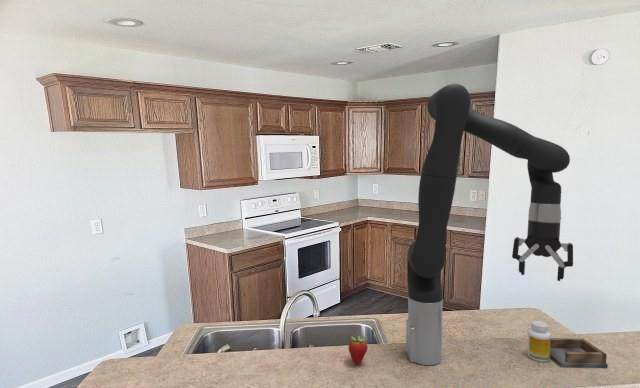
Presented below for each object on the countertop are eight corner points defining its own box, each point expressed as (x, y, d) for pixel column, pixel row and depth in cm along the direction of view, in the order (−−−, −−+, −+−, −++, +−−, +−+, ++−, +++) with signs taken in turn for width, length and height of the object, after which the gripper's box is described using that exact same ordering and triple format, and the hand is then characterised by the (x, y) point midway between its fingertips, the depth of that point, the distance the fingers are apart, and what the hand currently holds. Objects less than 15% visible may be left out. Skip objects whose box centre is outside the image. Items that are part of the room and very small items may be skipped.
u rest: (560, 367, 95) (561, 354, 94) (539, 348, 105) (539, 337, 104) (607, 368, 94) (608, 355, 94) (581, 349, 104) (581, 337, 104)
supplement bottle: (553, 363, 96) (554, 328, 96) (531, 361, 98) (532, 327, 97) (545, 353, 102) (546, 320, 101) (524, 351, 103) (525, 319, 102)
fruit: (367, 359, 99) (367, 331, 99) (367, 369, 94) (367, 340, 94) (349, 358, 100) (348, 330, 100) (348, 368, 95) (348, 339, 94)
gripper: (513, 218, 99) (509, 275, 100) (576, 223, 90) (572, 286, 91) (516, 216, 105) (513, 270, 106) (575, 220, 97) (571, 279, 98)
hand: (540, 277), depth 99 cm, fingers open, 8 cm apart
